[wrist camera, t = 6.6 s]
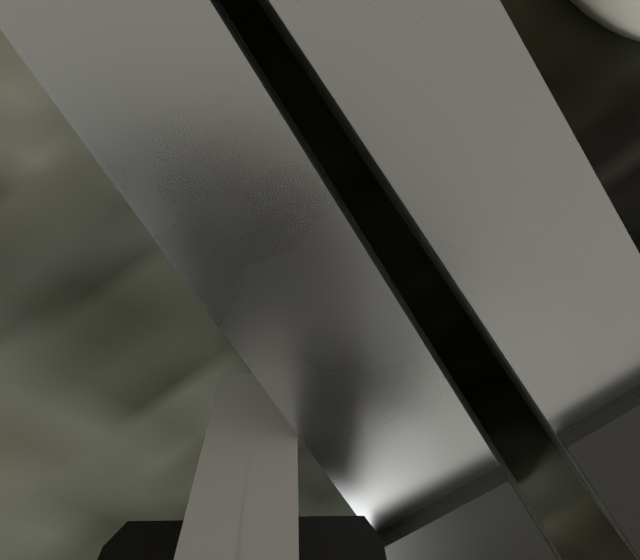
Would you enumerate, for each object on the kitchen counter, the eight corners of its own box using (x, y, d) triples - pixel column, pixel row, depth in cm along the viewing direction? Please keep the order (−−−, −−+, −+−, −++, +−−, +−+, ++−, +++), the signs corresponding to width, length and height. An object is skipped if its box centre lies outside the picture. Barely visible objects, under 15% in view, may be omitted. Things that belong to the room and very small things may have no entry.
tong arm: (172, -75, 11) (100, -173, 7) (525, 496, 14) (612, 647, 10) (62, 5, 11) (-68, -46, 7) (437, 543, 15) (488, 707, 11)
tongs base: (180, -395, 10) (55, -922, 5) (656, 409, 14) (852, 581, 9) (-14, -218, 10) (-313, -519, 5) (504, 499, 15) (611, 706, 10)
